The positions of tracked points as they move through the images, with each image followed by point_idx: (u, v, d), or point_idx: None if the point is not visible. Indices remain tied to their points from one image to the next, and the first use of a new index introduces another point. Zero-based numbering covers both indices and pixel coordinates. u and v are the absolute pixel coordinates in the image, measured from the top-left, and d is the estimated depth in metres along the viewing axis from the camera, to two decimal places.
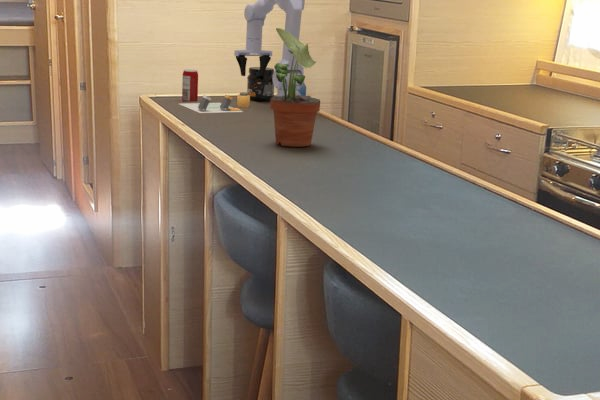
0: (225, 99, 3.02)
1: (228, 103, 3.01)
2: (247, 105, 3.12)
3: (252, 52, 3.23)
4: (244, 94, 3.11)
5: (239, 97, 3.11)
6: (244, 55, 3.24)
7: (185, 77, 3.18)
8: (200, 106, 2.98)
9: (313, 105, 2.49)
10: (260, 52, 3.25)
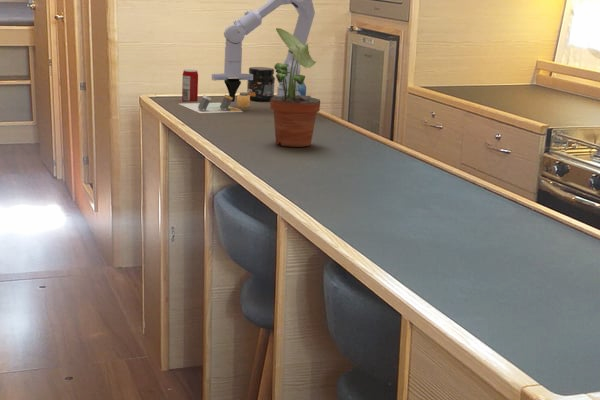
0: (225, 99, 3.02)
1: (228, 103, 3.01)
2: (247, 105, 3.12)
3: (231, 76, 2.98)
4: (244, 94, 3.11)
5: (239, 97, 3.11)
6: (222, 79, 2.99)
7: (185, 77, 3.18)
8: (200, 106, 2.98)
9: (313, 105, 2.49)
10: (240, 76, 2.99)
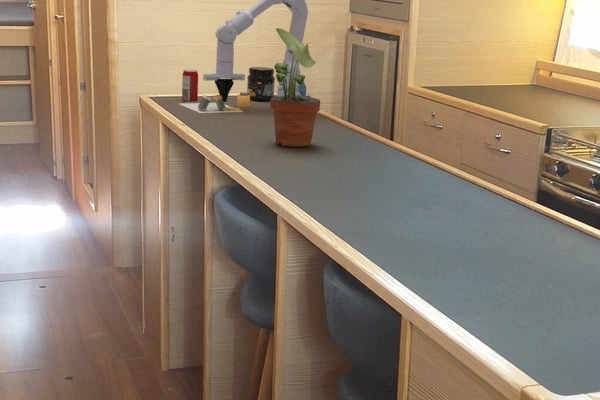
0: (217, 101, 3.00)
1: (221, 103, 3.00)
2: (247, 105, 3.12)
3: (223, 76, 2.97)
4: (244, 94, 3.11)
5: (239, 97, 3.11)
6: None
7: (185, 77, 3.18)
8: (200, 106, 2.98)
9: (313, 105, 2.49)
10: (231, 76, 2.98)
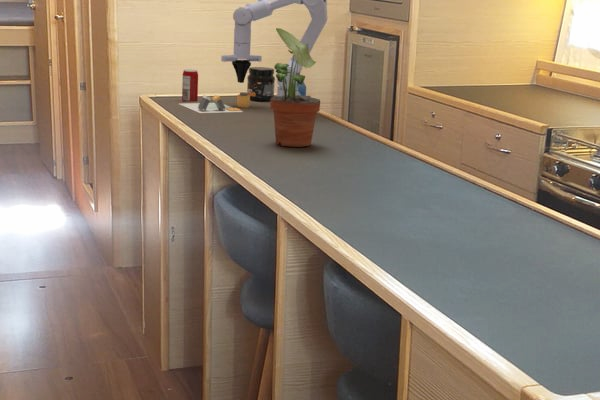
0: (216, 102, 3.00)
1: (221, 103, 3.00)
2: (247, 105, 3.12)
3: (240, 57, 3.04)
4: (244, 94, 3.11)
5: (239, 97, 3.11)
6: (232, 61, 3.05)
7: (185, 77, 3.18)
8: (200, 106, 2.98)
9: (313, 105, 2.49)
10: (249, 57, 3.06)
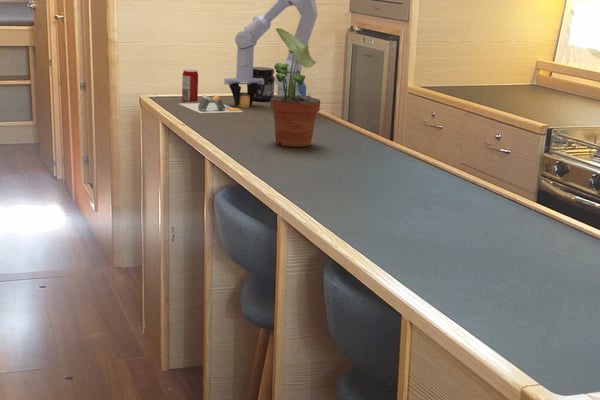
0: (215, 102, 3.00)
1: (221, 103, 3.00)
2: (247, 105, 3.12)
3: (243, 81, 3.08)
4: (244, 94, 3.11)
5: (239, 97, 3.11)
6: (234, 84, 3.09)
7: (185, 77, 3.18)
8: (200, 106, 2.98)
9: (313, 105, 2.49)
10: (251, 80, 3.10)
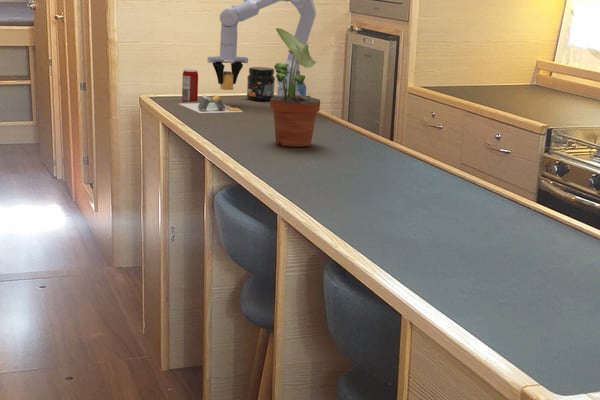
0: (215, 102, 3.00)
1: (221, 103, 3.00)
2: (231, 84, 3.08)
3: (226, 59, 3.05)
4: (228, 73, 3.08)
5: None
6: (218, 62, 3.05)
7: (185, 77, 3.18)
8: (200, 106, 2.98)
9: (313, 105, 2.49)
10: (235, 59, 3.06)
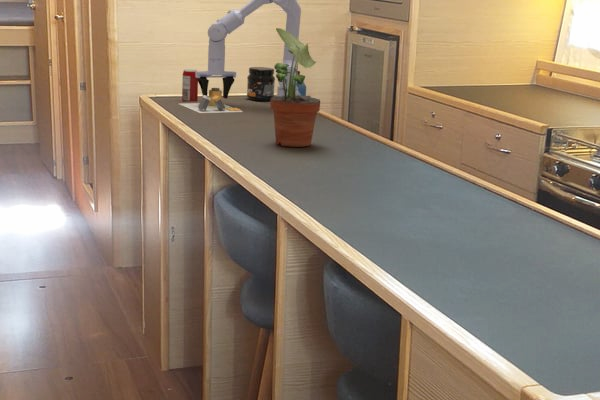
0: (215, 102, 3.00)
1: (221, 103, 3.00)
2: None
3: (214, 74, 3.05)
4: (216, 89, 3.08)
5: (211, 92, 3.08)
6: (206, 77, 3.05)
7: (185, 77, 3.18)
8: (200, 106, 2.98)
9: (313, 105, 2.49)
10: (223, 73, 3.06)
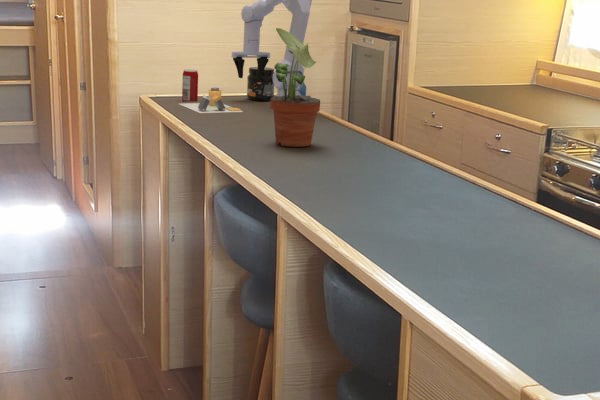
0: (215, 102, 3.00)
1: (221, 103, 3.00)
2: None
3: (250, 54, 3.18)
4: (215, 89, 3.08)
5: (210, 92, 3.08)
6: (241, 57, 3.19)
7: (185, 77, 3.18)
8: (200, 106, 2.98)
9: (313, 105, 2.49)
10: (258, 54, 3.19)
